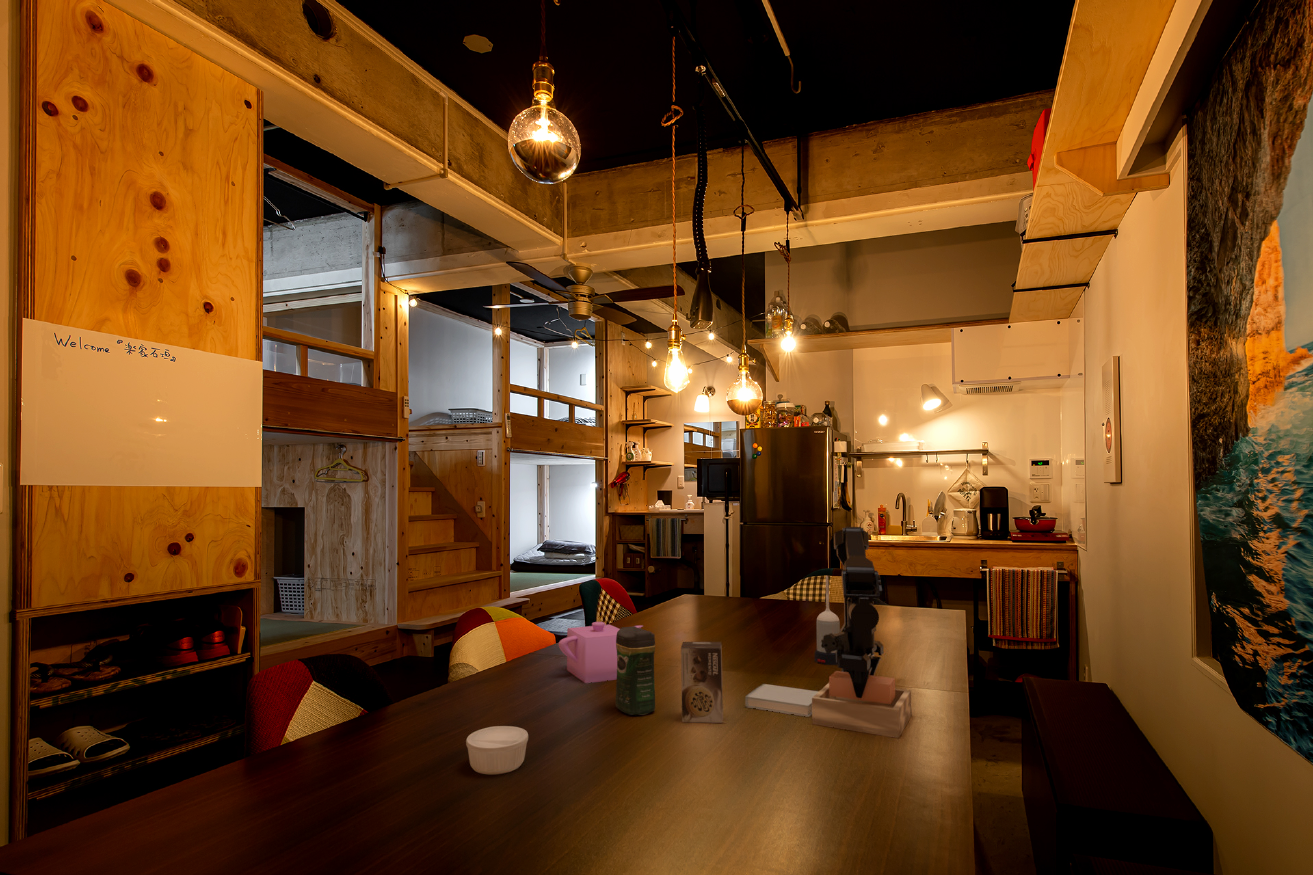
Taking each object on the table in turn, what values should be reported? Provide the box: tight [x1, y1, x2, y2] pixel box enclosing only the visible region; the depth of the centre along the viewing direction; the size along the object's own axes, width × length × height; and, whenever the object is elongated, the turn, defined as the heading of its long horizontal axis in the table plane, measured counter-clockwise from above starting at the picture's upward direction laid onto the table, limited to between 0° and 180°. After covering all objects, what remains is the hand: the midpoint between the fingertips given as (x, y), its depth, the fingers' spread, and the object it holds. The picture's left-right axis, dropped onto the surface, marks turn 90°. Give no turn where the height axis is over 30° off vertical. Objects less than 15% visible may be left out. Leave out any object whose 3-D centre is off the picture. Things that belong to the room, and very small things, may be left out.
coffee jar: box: [615, 625, 656, 716], centre depth 161 cm, size 10×8×19 cm
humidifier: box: [814, 575, 841, 666], centre depth 207 cm, size 8×8×25 cm
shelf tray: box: [811, 682, 913, 739], centre depth 153 cm, size 16×18×6 cm
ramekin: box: [465, 725, 529, 775], centre depth 128 cm, size 11×11×5 cm
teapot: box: [558, 621, 644, 684], centre depth 193 cm, size 15×25×14 cm, turn 116°
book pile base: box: [744, 683, 819, 718], centre depth 164 cm, size 12×15×2 cm
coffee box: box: [680, 641, 724, 724], centre depth 155 cm, size 9×6×16 cm
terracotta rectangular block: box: [828, 670, 896, 704], centre depth 154 cm, size 6×13×4 cm, turn 61°
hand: (862, 693), depth 153 cm, fingers closed on terracotta rectangular block, 6 cm apart
